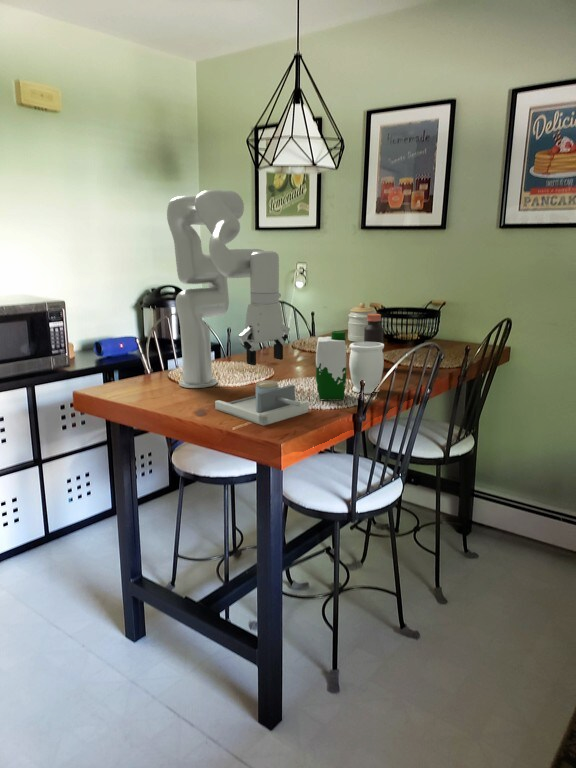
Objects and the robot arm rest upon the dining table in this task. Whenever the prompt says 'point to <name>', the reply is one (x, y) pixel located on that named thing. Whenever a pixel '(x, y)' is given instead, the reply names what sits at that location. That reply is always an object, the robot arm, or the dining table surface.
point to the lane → (248, 412)
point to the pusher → (277, 398)
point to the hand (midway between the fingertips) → (265, 361)
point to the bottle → (373, 329)
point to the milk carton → (331, 366)
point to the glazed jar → (264, 388)
